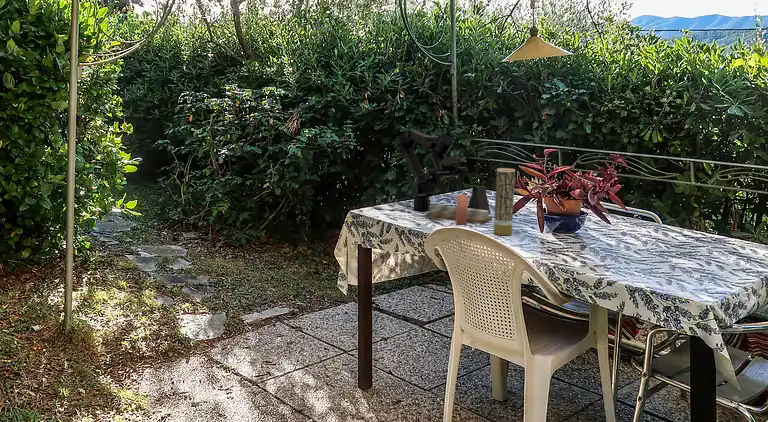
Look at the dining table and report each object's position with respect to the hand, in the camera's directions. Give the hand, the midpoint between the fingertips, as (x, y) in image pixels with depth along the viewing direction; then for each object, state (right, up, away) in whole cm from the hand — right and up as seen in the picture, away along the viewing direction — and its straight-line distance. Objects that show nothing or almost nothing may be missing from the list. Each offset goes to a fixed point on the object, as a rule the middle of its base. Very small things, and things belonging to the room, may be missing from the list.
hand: (453, 190), depth 270 cm
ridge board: (+3, -11, +9) cm, 15 cm away
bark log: (+17, -17, -18) cm, 30 cm away
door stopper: (+13, -9, +21) cm, 26 cm away
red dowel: (+3, -14, -3) cm, 15 cm away
